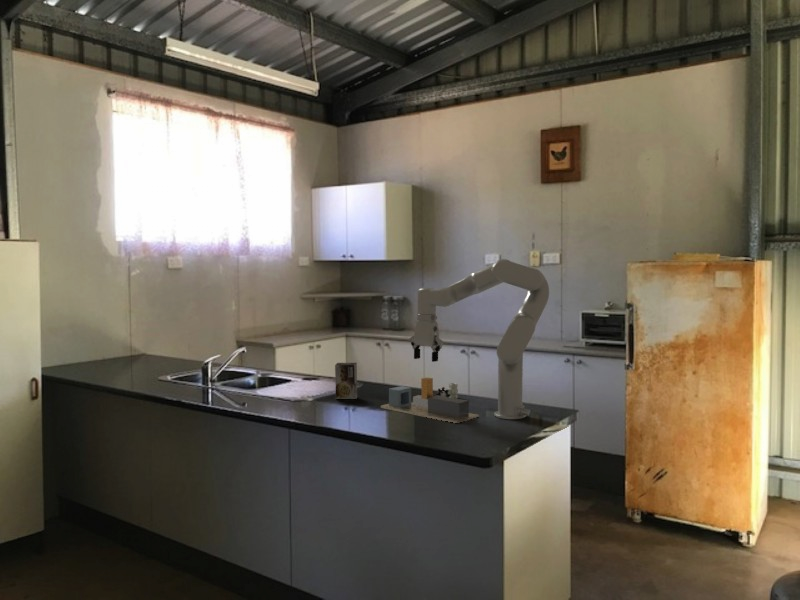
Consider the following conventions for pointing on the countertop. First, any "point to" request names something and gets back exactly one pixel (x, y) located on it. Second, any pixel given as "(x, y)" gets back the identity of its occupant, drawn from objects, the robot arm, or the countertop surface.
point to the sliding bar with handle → (424, 393)
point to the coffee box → (346, 380)
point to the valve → (449, 391)
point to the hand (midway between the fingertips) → (425, 359)
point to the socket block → (399, 396)
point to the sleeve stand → (439, 409)
